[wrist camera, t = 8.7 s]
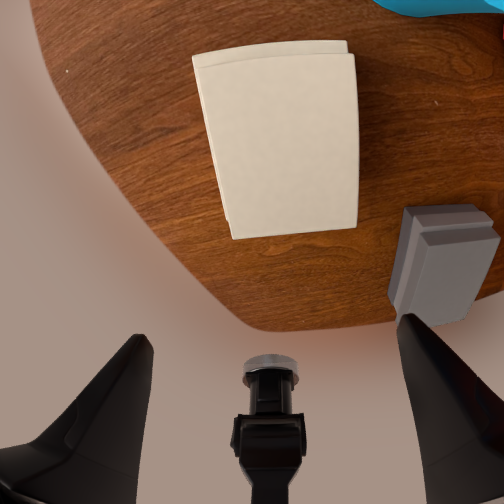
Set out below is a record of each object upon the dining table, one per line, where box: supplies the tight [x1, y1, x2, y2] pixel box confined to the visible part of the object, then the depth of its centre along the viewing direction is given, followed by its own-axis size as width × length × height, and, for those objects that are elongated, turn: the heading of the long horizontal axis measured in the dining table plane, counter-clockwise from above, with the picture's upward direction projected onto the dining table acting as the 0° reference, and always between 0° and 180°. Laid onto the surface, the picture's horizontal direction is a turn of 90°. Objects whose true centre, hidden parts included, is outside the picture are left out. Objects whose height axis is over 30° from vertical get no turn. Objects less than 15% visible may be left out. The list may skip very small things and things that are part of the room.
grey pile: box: [387, 204, 501, 328], centre depth 19 cm, size 9×7×4 cm
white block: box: [196, 53, 359, 239], centre depth 12 cm, size 8×6×2 cm
